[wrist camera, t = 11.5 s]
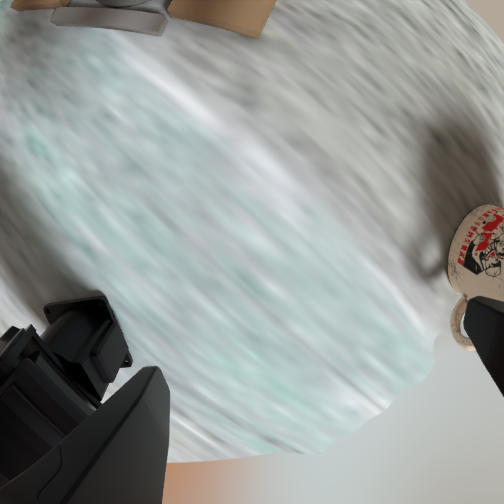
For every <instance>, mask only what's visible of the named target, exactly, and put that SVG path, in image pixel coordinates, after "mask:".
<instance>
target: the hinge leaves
mask: <svg viewBox="0 0 504 504" xmlns="http://www.w3.org/2000/svg"><path fill="white" fill-rule="evenodd" d="M97 1H98V2H99V3H101V4H103V5H106V6H109V7H129V6H135V5H138V4H142V3H144V2H147V1H150V0H97ZM69 2H70V0H14V1H13V3H12V5H11V8H13V9H15V10H17V11H22V10H33V9H48V8H56V10H55V12H54V14H53V16H52V18H51V20H50V22H52V23H54V24H55V25H57V26H80V27H95V28H106V29H115V30H123V31H131V32H137V33H144V34H150V35H155V36H161V35H162V33H163V31H164V29H165V27H166V25H167V23H168V20H167V19H166V17H165V15H162V14H156V13H149V12H141V11H133V10H123V9H111V8H93V7H67V6H68V4H69ZM275 2H276V0H172V2H171V4H170V5H169V7H168V9H167V11H168V13H169V15H170V17H174V18H179V19H184V20H189V21H193V22H198V23H202V24H207V25H211V26H215V27H218V28H222V29H226V30H229V31H233V32H236V33H240V34H243V35H246V36H250V37H253V38H256V39H258V38H259V36H260V34H261V32H262V29H263V27H264V25H265V23H266V21H267V19H268V17H269V15H270V13H271V10H272V8H273V6H274V4H275Z"/></svg>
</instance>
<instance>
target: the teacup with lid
mask: <svg viewBox="0 0 504 504" xmlns="http://www.w3.org/2000/svg"><path fill="white" fill-rule="evenodd" d="M448 275H449V280H450V283H451V285H452V287H453V289H454V290H455V291H456V292H457V293H458V294H459V295H460V296H461V299H460V300H459V301H458V302H457V304H456V305H455V307H454V309H453V311H452V314H451V319H450V327H451V332H452V335H453V337H454V339H455V341H456V342H457V343H458V345H460V347H461V348H463V349H465V350H467V351H476V349H475V347H474V345H473V344H472V342H471V340H470V338H467V337H465V336H463V335H462V334H461V331H460V322H461V319H462V316H463V315H464V313H465V311H466V306H467V302H468V300H469V299H470V298H473V297H476V296H484V297H488V298H492V299H496V300H500V301H504V209H503V208H500V207H497V206H494V205H483V206H480V207H477V208H476V209H474V210H473V211H471V212H470V213H469V214H468V215H467V216H466V217H465V218H464V220H463V221H462V222H461V224H460V226H459V227H458V229H457V231H456V233H455V235H454V238H453V240H452V243H451V247H450V251H449V257H448Z"/></svg>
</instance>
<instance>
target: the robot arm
mask: <svg viewBox="0 0 504 504" xmlns="http://www.w3.org/2000/svg"><path fill="white" fill-rule="evenodd" d="M100 302H102V303H103V305H101V304H100ZM48 309H49V310H50V311H49V310H48ZM44 313H45V315H46V317H47V320H48V322H49V324H50V325H49V326H48V328H47V329H46V330H45V331H44V332H43V333H42V335H41V336H40V337H39V335H38V334H37V333H36V329H35V328H34V327H33V325H32V324H31V325H29V326H28V327H27V328H26V329H24V328H22V329H19V328H16V327H14V326H11V327H10V328H9V329H8V330H7V331H6V332H5V333H4V334H3V335H2V336H1V337H0V504H162V498H163V488H164V480H165V471H166V463H167V455H168V447H169V422H170V390H169V387H168V385H167V383H166V380H165V378H164V376H163V374H162V372H161V370H160V368H159V367H158V366H147V367H143V368H142V369H141V370H140V371H138V372H137V373H136V374H135V375H134V376H133V377H132V378H131V379H130V380H129V381H127V382H126V383H125V384H124V385H123V386H122V387H121V388H120V389H119V390H118V391H116V392H115V393H114V394H113V395H112V396H111V397H110V398H109V399H108V400H107V401H105V402H104V403H103V404H102V403H101V402H100V401H101V400H102V398H103V396H104V394H105V392H106V389H107V387H108V385H109V383H113V382H114V380H115V378H116V375H117V373H118V371H119V369H120V368H126V367H131V365H132V363H133V359H132V357H131V355H130V353H129V351H128V346H127V343H126V341H125V339H124V336H123V334H122V332H121V329H120V327H119V325H118V323H117V322H116V321H115V318H114V316H113V313H112V311H111V308H110V305H109V303H108V301H107V299H106V298H105V297H103V296H98V297H91V298H85V299H78V300H71V301H64V302H57V303H50V304H47V305H46V306H45V307H44ZM463 325H464V329H465V331H466V333H467V335H468V336H469V338H470V340H471V342H472V344H473V345H474V347H475V349H476V351H477V353H478V355H479V357H480V359H481V360H482V362H483V364H484V366H485V367H486V369H487V371H488V372H489V373H490V375H491V377H492V379H493V380H494V382H495V383H496V385H497V387H498V388H499V390H500V392H501V393H502V395H503V397H504V301H500V300H496V299H492V298H488V297H484V296H476V297H473V298H470V299H469V300H468V302H467V306H466V311H465V316H464V321H463ZM125 360H126V361H128V362H126V361H125Z"/></svg>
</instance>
